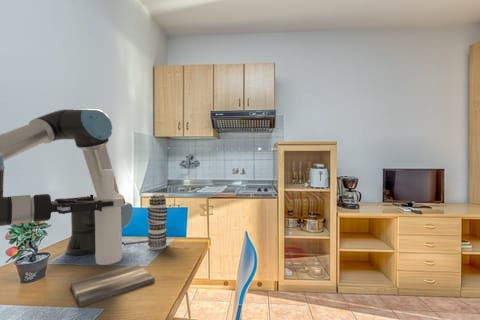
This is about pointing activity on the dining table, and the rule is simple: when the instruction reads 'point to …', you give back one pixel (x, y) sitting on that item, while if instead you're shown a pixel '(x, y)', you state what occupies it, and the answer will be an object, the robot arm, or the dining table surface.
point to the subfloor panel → (110, 284)
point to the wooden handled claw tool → (134, 242)
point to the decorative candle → (157, 222)
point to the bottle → (108, 224)
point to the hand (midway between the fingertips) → (118, 200)
